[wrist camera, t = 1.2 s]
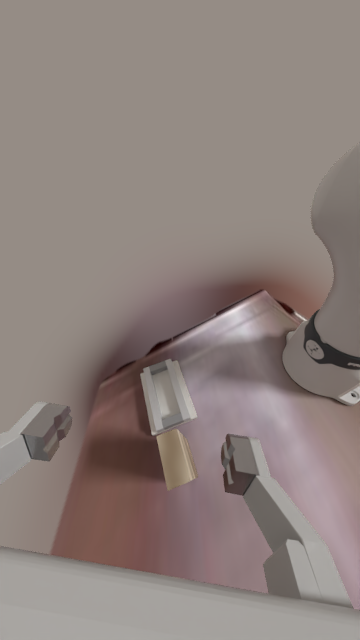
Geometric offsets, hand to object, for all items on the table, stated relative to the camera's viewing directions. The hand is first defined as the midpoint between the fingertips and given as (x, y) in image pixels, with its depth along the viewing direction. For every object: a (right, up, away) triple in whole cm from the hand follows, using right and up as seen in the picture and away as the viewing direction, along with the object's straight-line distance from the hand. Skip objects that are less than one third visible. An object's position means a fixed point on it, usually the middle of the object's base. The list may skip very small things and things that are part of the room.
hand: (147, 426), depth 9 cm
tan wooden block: (+3, -21, +26) cm, 34 cm away
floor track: (-1, -12, +34) cm, 36 cm away
